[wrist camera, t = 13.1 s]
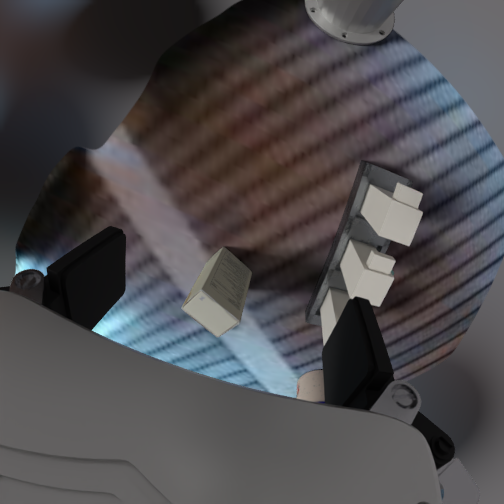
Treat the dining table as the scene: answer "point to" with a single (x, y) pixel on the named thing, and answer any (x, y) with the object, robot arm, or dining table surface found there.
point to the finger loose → (332, 310)
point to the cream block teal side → (393, 212)
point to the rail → (352, 233)
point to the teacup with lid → (311, 386)
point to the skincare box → (219, 293)
